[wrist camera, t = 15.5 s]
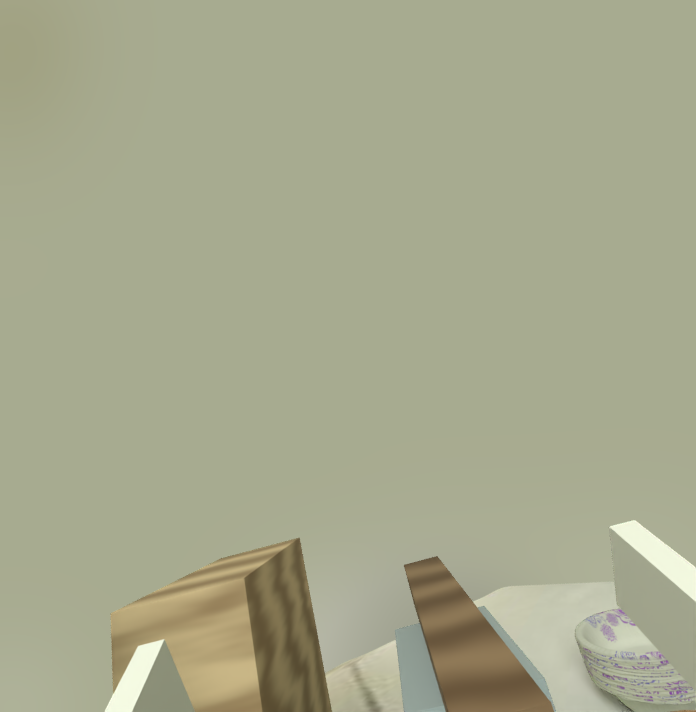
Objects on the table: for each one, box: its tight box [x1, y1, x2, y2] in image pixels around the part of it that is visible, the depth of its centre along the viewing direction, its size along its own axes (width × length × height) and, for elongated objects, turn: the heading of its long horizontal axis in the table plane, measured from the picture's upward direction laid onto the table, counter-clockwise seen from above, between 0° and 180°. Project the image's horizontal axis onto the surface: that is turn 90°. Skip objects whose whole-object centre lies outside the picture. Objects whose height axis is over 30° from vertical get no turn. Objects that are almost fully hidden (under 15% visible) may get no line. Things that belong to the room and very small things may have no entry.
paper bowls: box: [575, 608, 696, 712], centre depth 48 cm, size 15×15×8 cm
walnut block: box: [404, 556, 554, 712], centre depth 28 cm, size 30×4×4 cm, turn 176°
